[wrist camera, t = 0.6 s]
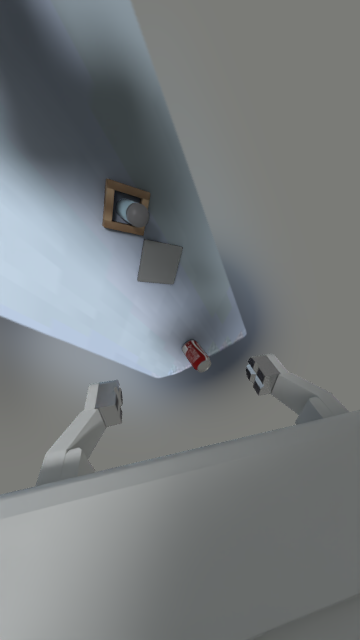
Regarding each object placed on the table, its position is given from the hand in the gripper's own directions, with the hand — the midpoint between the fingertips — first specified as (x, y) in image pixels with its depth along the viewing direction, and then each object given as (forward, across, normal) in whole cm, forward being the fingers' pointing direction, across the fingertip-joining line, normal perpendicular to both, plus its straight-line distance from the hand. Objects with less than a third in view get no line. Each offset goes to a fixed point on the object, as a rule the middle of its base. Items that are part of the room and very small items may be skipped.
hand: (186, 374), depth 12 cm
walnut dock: (+45, +4, -5) cm, 45 cm away
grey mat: (+47, -3, +9) cm, 48 cm away
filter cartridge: (+45, +4, -5) cm, 45 cm away
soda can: (+50, -13, +45) cm, 68 cm away
